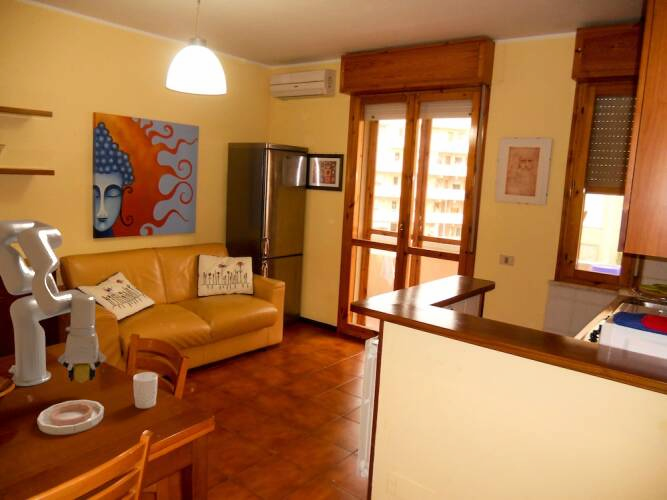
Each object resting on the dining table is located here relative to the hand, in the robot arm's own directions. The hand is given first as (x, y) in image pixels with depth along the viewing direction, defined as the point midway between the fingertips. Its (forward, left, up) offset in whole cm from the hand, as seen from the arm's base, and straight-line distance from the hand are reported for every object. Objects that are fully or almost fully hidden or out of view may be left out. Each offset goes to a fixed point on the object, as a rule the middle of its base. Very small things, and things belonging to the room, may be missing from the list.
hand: (82, 378), depth 174 cm
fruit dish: (+10, -17, -5) cm, 21 cm away
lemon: (0, 0, -2) cm, 2 cm away
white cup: (+25, 0, -6) cm, 26 cm away
